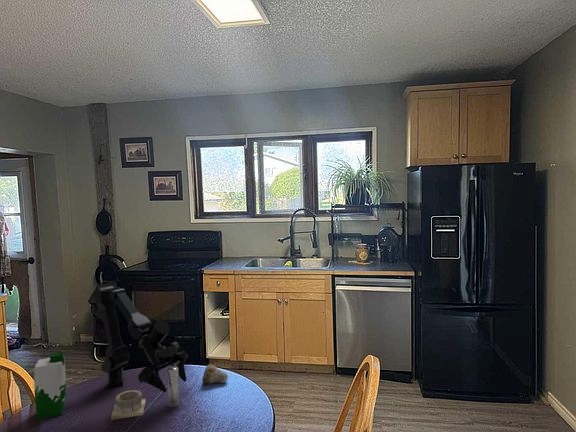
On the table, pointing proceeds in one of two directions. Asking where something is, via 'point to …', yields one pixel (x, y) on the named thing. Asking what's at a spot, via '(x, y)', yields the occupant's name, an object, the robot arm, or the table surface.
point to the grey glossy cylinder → (173, 386)
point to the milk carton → (50, 386)
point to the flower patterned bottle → (214, 375)
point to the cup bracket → (128, 405)
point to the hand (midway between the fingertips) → (176, 386)
